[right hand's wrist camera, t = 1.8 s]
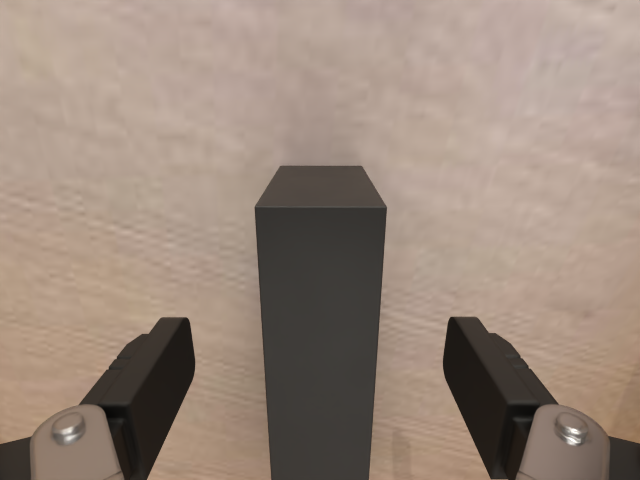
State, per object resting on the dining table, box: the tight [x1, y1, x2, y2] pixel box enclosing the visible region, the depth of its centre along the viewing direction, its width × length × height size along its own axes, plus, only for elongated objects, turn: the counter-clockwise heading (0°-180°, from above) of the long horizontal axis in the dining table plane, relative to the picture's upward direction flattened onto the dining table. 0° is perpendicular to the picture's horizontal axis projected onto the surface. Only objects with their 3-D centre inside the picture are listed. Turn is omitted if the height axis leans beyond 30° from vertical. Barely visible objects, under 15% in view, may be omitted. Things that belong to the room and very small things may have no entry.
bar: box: [255, 166, 387, 480], centre depth 23 cm, size 26×5×9 cm, turn 0°
